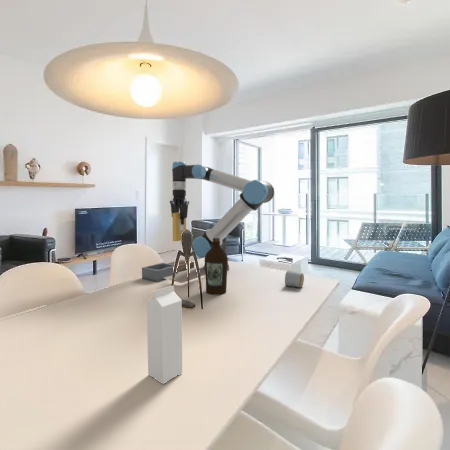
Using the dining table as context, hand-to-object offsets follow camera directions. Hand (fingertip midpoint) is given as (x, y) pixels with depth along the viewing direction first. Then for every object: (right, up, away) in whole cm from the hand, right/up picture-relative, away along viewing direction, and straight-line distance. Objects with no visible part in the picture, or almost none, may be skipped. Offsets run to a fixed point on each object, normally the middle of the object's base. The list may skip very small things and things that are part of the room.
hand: (179, 230), depth 176 cm
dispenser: (0, -24, +2) cm, 24 cm away
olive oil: (+22, -28, -36) cm, 51 cm away
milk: (+12, -34, -101) cm, 107 cm away
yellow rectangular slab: (0, -6, +1) cm, 6 cm away
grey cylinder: (+61, -28, -25) cm, 71 cm away
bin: (-9, -26, -11) cm, 29 cm away
